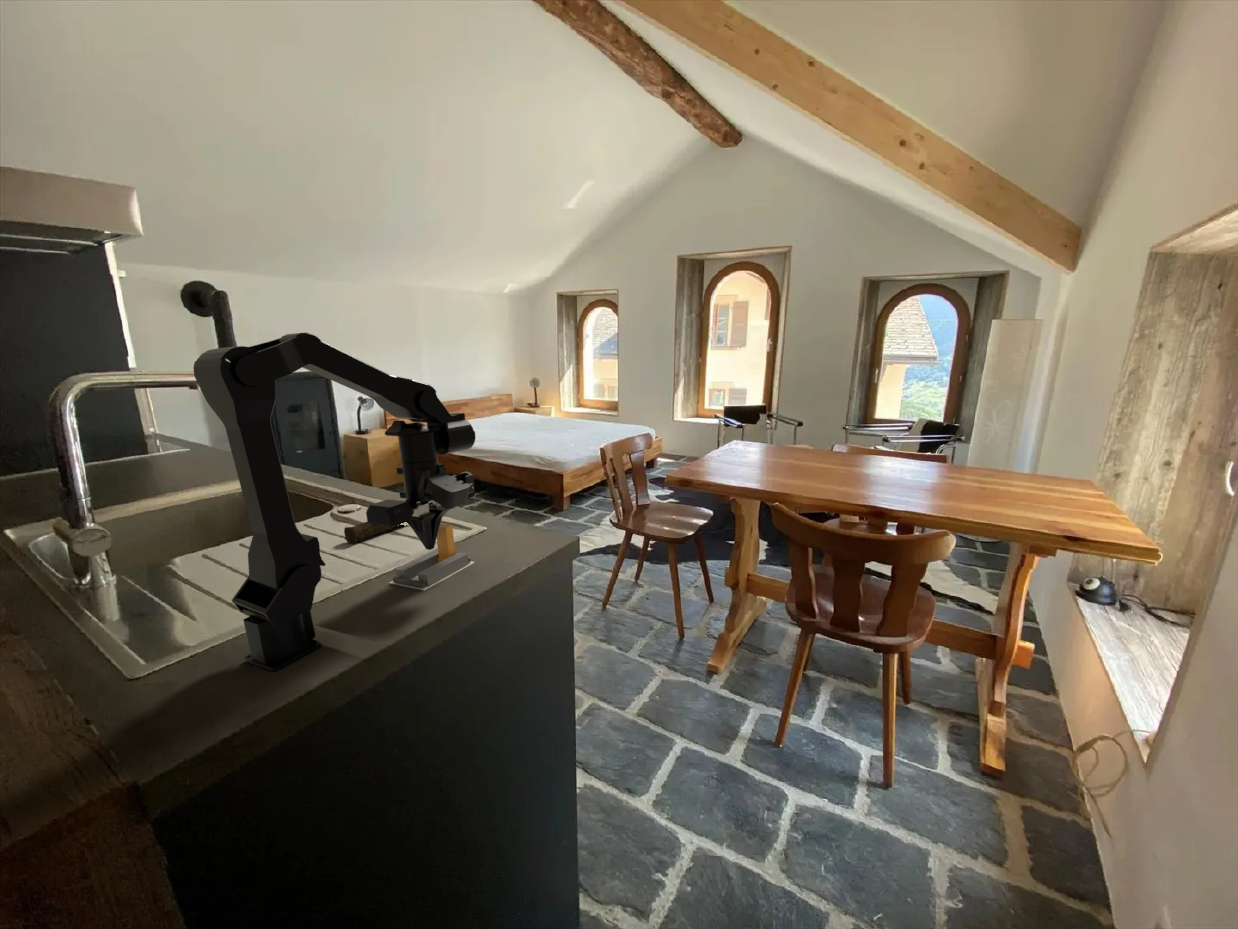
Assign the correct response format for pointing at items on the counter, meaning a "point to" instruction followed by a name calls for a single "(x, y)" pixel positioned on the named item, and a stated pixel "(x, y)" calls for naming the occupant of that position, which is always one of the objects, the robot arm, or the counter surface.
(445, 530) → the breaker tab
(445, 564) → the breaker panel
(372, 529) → the dark brown rod
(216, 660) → the counter surface
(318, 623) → the counter surface
